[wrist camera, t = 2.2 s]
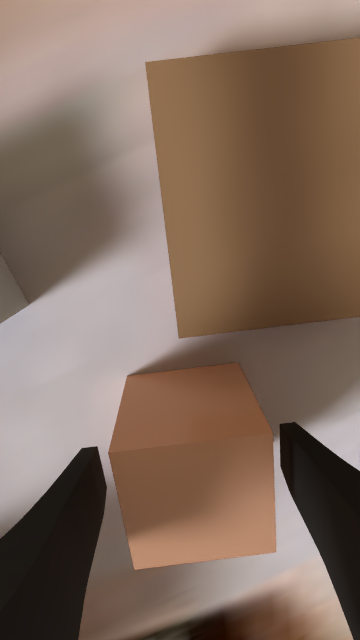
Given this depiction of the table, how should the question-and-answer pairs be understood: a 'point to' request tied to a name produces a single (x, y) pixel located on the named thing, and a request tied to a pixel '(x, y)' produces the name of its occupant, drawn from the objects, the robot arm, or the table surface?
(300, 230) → the walnut block
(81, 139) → the table surface
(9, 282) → the grey cube
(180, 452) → the terracotta cube
